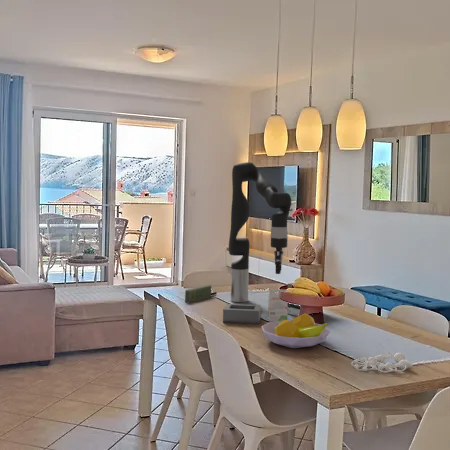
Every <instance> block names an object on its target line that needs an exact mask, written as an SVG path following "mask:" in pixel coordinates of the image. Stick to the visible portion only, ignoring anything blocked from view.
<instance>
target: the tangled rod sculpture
mask: <svg viewBox="0 0 450 450" xmlns="http://www.w3.org/2000/svg"><path fill="white" fill-rule="evenodd" d="M388 358H391V359H392V358H393V359H394V362H395V363H394V364H393V363H392V362H386V363H384V362H385V361H386V359H388ZM350 365H351V366H352V367H354V369H355V370H357V371H359V372H361V371H362V372H368V371H371V370H373V371H378V372H381V373H383V374H384V373H385V374H386V373H390V372H399V373H400V372H403V371H405V370H407V369H410V368H413V363H412V362H411V361H410V360H408V359H406V356H405V355H404V354H403V352H396V353H395V354H393V353H391V352H390V351H388V352H387V353H384V354H378V355H376V356H370V357H368V358H367V357H362V358H357V359H354V360H353V361H352V362H351V363H350ZM397 367H399V369H398V368H397ZM360 368H361V369H360ZM383 369H384V370H383Z"/></svg>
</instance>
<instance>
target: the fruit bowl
mask: <svg viewBox="0 0 450 450" xmlns="http://www.w3.org/2000/svg"><path fill="white" fill-rule="evenodd" d="M327 326H328V323H327V322H325V323H323V324H320V323H316V322H315V319H314V317H312V315H308V314H306V313H304V314H302V315H300V316H295V317H294V318H293V319H292V320H291V319H287V320H283V321H268V322H267V323H265V324H264V325H261V329H262V333H263V336H264V338H266V339H268V340H269V341H271V342H272V343H274V344H277V345H280V346H284V347H287V348H290V349H298V348H300V349H301V348H307V347H308V348H309V347H314V346H316V345H319V344H321V343H323V342H325V341H326V340H327V337H328V336H329V334H330V333H331V330H330V329H329V328H328V327H327Z"/></svg>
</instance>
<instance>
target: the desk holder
mask: <svg viewBox="0 0 450 450" xmlns="http://www.w3.org/2000/svg"><path fill="white" fill-rule="evenodd" d="M261 315H262V305H261V304H245V303H244V304H243V303H241V304H239V303H226V304H225V306H224V308H223V309H222V323H223V324H225V323H226V324H245V325H260V322H261V318H262V316H261Z"/></svg>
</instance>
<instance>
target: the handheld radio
mask: <svg viewBox="0 0 450 450" xmlns="http://www.w3.org/2000/svg"><path fill="white" fill-rule="evenodd" d="M217 294H218V293H217V292H216V291H214V292H212V284H206V285H201V286H198V287H193V288H190V289H185V295H184V296H185V297H184V299H185V300H184V302H185V303H187V302H189V303H193V302H196V301H199V300H204V299H207V298H211V296H214V295H217ZM192 301H193V302H192Z"/></svg>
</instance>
